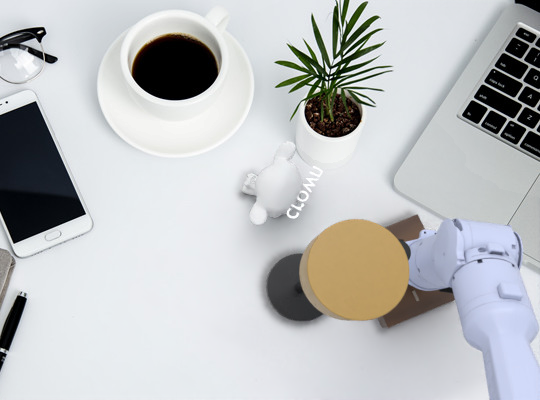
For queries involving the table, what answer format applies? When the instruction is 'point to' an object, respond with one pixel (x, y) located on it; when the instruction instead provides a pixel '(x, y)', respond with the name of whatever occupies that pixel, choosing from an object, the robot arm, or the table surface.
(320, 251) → the desk lamp
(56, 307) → the table surface
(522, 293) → the robot arm
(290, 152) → the figurine
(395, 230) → the dial panel
